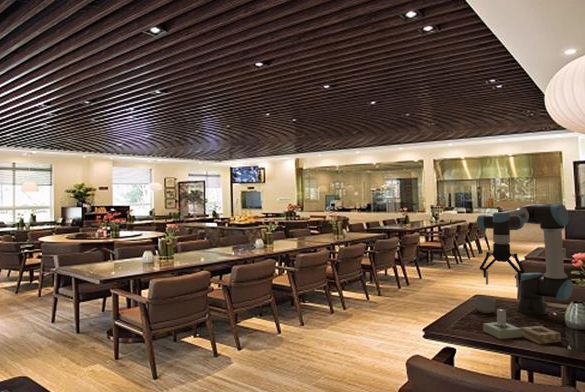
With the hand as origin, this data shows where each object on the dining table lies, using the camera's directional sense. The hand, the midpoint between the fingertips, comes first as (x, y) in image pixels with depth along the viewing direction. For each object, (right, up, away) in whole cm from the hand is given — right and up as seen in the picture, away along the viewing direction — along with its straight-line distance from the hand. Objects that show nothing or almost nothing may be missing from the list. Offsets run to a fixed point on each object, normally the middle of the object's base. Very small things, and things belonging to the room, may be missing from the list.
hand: (501, 285), depth 209 cm
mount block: (+15, -24, -7) cm, 29 cm away
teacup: (+9, -25, +41) cm, 48 cm away
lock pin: (0, -24, 0) cm, 24 cm away
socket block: (0, -24, 0) cm, 24 cm away
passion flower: (+53, -25, +62) cm, 86 cm away
